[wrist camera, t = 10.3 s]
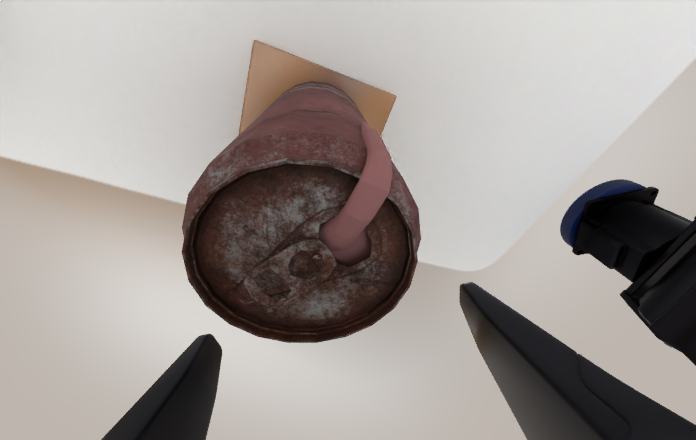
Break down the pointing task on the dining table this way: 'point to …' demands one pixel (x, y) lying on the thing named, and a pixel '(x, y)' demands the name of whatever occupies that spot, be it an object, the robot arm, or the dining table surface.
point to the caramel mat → (289, 70)
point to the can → (302, 223)
